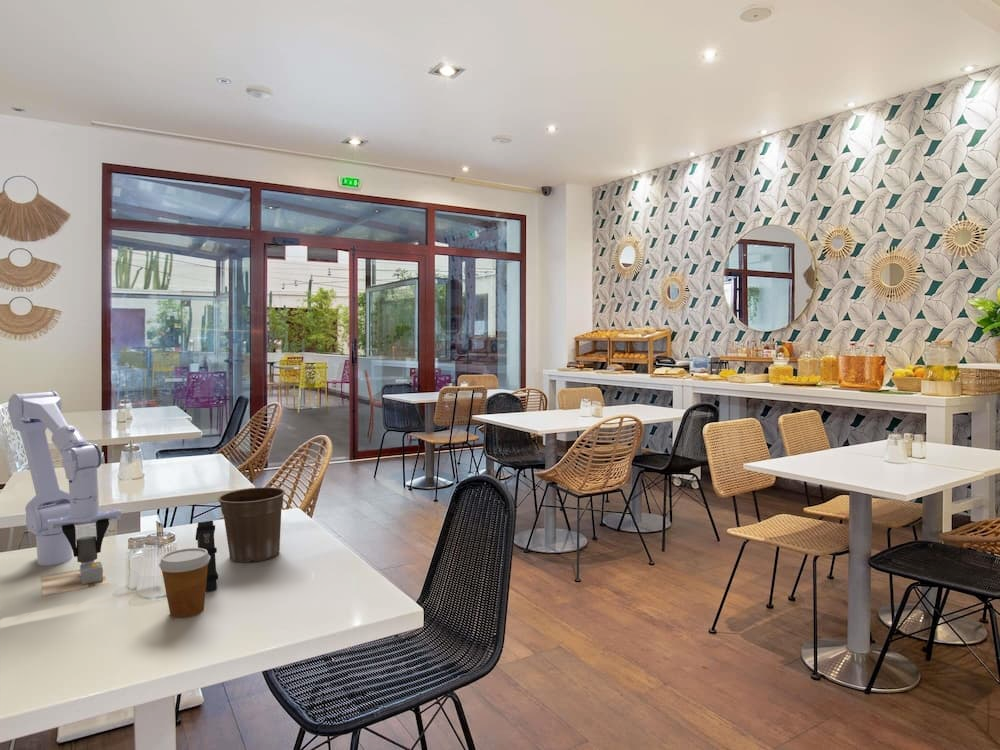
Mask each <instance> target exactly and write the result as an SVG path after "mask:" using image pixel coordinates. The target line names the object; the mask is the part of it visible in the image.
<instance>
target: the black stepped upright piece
mask: <svg viewBox="0 0 1000 750" xmlns="http://www.w3.org/2000/svg"><path fill="white" fill-rule="evenodd" d="M215 531H216V525H215V524H214V520H207V521H199V522H197V527H196V531H195V541H197V548H202V549H206V550H207V551H208V554H209V555H210V560H209V563H208V570H207V581H206V592H205V593H210V592H215V591H217V589H218V586H217V585H218V584H217V580H219V574H218V572H217V571H218V570H217V566H216V565H217V563H216V553H217V552H218V550H217V549H218V548H217V547H216V546H215V533H216V532H215Z"/></svg>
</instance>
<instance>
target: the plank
mask: <svg viewBox="0 0 1000 750" xmlns="http://www.w3.org/2000/svg"><path fill="white" fill-rule="evenodd" d="M102 570H103V581H98V582H92V583H87V584H82V582H81V575H80V568H78V569H74V570H73V569H72V570H67V571H63V572H62V571H61V572H56V573H52V574H46V575H41V577H40V579H41V593H42V594H41V596H42V597H46V596H52V595H58V594H62V593H67V592H71V591H76V590H81V589H87V588H91V587H97V586H102V585H106V584H108V580H107V577H106V575H105V572H104V568H103V567H102Z"/></svg>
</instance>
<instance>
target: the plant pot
mask: <svg viewBox="0 0 1000 750" xmlns="http://www.w3.org/2000/svg"><path fill="white" fill-rule="evenodd" d="M285 494H286V490H285V489H283V488H279V487H267V486H266V487H253V488H251V487H250V488H244V489H243V488H242V489H237V490H233V491H229V492H227V493H223V494H221V495H219V496H218V498H217V501H218V502H219V505H220V509H221V514H222V515H223V520H224V526H225V534H226V540H227V546H228V553H229V559H230V560H231V561H233V562H235V561H236V562H235V563H249V562H250V561H255V562H260V561H266V560H269V559H271V557H272V558H273V557H276V556H277V555H278V554H279V553H280V549H281V528H282V527H281V525H282V523H281V521H282V509H283V506H284V495H285ZM265 559H266V560H265Z"/></svg>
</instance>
